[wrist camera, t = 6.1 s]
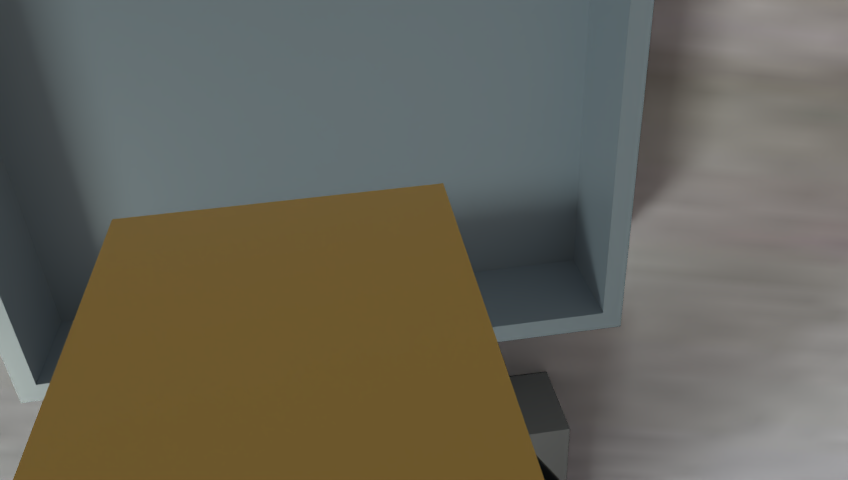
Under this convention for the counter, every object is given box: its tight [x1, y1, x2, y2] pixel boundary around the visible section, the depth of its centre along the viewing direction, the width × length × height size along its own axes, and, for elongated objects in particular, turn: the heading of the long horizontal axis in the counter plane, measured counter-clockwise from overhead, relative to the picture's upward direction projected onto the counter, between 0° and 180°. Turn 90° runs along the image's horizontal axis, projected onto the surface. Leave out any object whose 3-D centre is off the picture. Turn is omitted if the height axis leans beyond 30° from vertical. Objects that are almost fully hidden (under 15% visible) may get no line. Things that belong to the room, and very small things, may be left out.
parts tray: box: [0, 0, 654, 403], centre depth 18 cm, size 15×13×3 cm
